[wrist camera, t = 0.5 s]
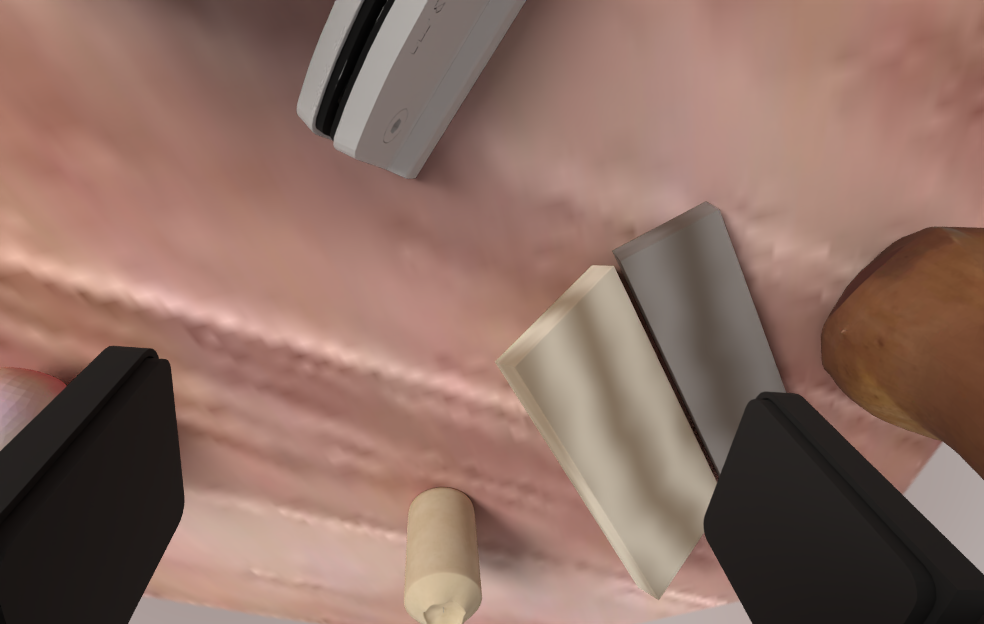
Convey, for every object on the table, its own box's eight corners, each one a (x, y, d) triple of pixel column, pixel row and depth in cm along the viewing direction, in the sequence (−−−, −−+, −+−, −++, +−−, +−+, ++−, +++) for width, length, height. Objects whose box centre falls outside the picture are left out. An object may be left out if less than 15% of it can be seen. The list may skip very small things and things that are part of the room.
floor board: (706, 201, 40) (719, 209, 38) (797, 444, 50) (810, 459, 48) (612, 250, 40) (620, 261, 39) (720, 479, 51) (730, 496, 49)
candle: (398, 497, 48) (390, 604, 39) (461, 477, 48) (468, 581, 39) (421, 543, 51) (419, 653, 42) (482, 524, 50) (493, 632, 41)
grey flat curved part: (412, 183, 37) (344, 191, 28) (352, 139, 37) (263, 132, 28) (571, -73, 32) (554, -171, 23) (501, -123, 32) (455, -243, 23)
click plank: (591, 265, 40) (613, 265, 39) (704, 492, 50) (725, 500, 49) (494, 361, 36) (514, 367, 35) (638, 587, 46) (659, 600, 45)
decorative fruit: (-42, 380, 40) (-178, 481, 31) (43, 317, 39) (-74, 403, 30) (73, 466, 44) (-18, 578, 35) (154, 411, 43) (80, 513, 34)
